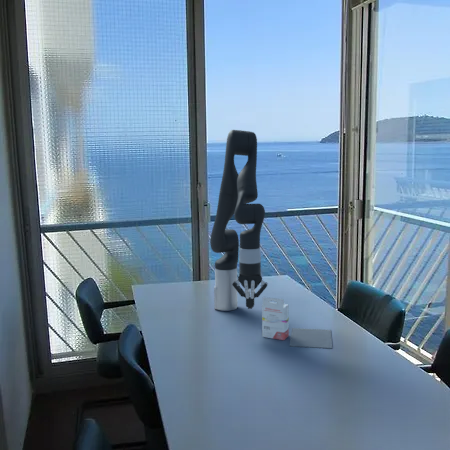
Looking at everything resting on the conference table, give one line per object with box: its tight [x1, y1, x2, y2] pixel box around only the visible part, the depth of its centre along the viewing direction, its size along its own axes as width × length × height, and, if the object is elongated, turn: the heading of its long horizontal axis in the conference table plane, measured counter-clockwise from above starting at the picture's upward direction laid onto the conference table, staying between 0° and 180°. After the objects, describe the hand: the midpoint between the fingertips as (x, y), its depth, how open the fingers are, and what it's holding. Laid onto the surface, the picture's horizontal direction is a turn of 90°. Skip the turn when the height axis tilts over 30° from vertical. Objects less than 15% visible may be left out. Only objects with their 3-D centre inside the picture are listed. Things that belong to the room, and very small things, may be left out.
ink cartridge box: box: [261, 296, 290, 341], centre depth 177 cm, size 9×5×15 cm, turn 62°
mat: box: [289, 327, 333, 350], centre depth 175 cm, size 14×17×1 cm
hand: (250, 308), depth 178 cm, fingers closed
